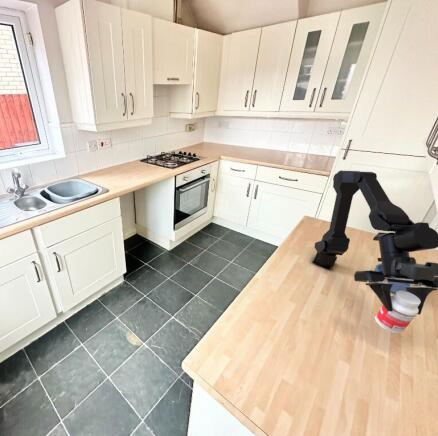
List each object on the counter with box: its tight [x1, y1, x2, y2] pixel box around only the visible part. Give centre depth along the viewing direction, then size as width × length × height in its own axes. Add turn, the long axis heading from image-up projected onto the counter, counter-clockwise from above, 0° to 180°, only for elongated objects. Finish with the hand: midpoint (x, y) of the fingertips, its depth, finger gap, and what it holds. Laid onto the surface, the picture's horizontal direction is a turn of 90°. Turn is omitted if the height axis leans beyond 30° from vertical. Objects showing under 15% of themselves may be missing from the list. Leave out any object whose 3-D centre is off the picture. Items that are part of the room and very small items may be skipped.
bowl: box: [372, 262, 410, 294], centre depth 91 cm, size 13×13×4 cm
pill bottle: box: [374, 290, 421, 334], centre depth 66 cm, size 6×6×11 cm
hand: (403, 312), depth 64 cm, fingers closed on pill bottle, 6 cm apart
